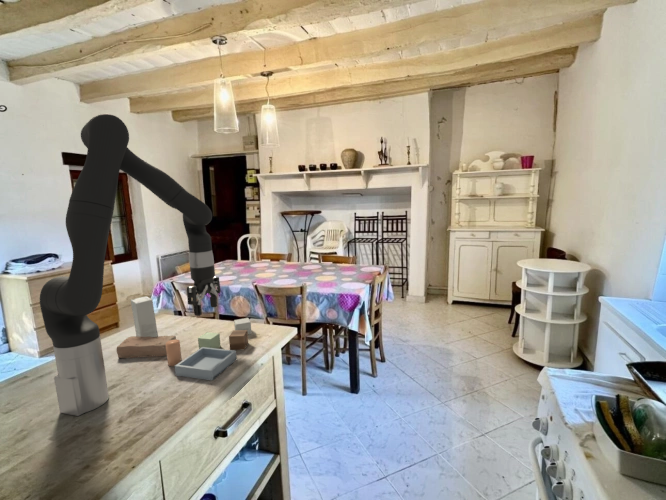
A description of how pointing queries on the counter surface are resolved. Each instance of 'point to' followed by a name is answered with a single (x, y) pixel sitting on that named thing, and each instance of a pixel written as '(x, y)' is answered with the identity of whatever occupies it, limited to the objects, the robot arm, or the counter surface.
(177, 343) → the peach capsule
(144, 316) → the skincare box
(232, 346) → the walnut cube
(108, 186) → the robot arm
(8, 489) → the counter surface
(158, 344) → the brick
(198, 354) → the tray
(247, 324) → the small box
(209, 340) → the green block
